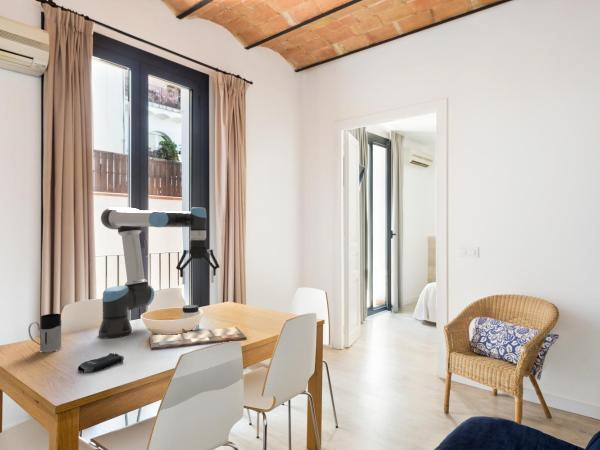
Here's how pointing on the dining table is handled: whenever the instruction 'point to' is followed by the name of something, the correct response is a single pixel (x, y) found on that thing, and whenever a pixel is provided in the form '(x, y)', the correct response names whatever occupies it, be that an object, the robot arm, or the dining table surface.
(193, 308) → the jar
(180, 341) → the board
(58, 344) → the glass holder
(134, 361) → the dining table surface
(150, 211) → the robot arm
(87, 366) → the electronic device
